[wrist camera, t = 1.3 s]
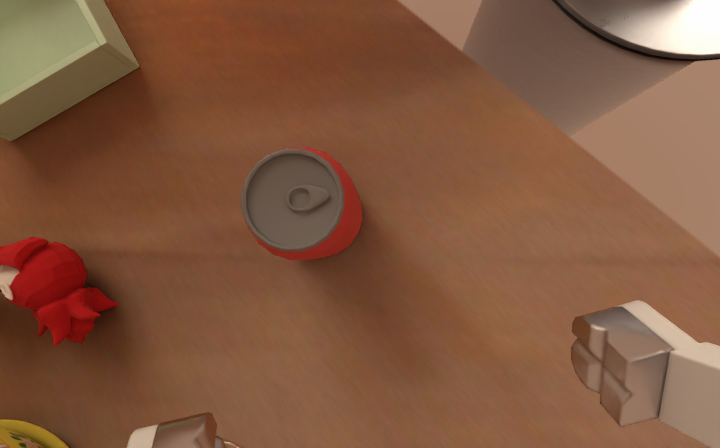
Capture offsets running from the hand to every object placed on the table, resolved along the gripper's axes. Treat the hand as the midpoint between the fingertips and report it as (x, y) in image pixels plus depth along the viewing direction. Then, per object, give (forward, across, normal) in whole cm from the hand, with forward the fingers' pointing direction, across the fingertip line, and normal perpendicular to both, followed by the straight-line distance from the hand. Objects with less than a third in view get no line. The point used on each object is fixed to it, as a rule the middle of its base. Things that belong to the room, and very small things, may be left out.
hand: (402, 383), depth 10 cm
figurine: (+29, +24, +10) cm, 39 cm away
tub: (+38, +19, -8) cm, 43 cm away
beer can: (+26, 0, +7) cm, 27 cm away
